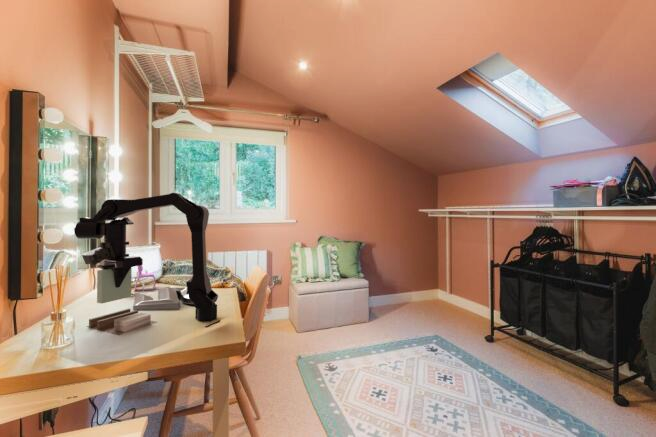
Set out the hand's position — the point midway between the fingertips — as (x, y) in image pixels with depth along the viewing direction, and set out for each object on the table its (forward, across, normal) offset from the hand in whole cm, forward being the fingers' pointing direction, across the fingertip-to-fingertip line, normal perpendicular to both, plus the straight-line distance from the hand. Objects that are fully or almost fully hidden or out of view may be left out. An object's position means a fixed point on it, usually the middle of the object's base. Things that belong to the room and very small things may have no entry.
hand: (115, 286), depth 96 cm
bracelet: (+13, -32, +28) cm, 45 cm away
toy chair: (+13, -40, +38) cm, 57 cm away
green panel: (+4, 0, 0) cm, 4 cm away
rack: (+13, +4, 0) cm, 14 cm away
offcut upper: (+10, +9, 0) cm, 13 cm away
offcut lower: (+12, +9, 0) cm, 15 cm away
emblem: (+14, -7, +25) cm, 29 cm away
